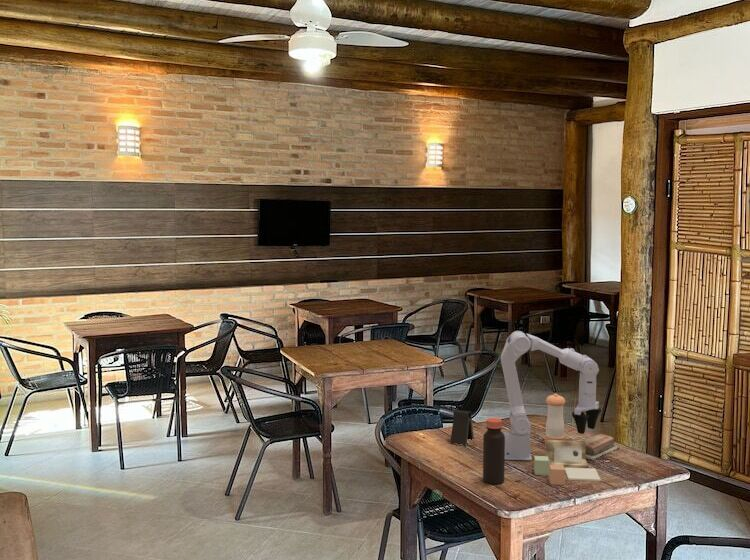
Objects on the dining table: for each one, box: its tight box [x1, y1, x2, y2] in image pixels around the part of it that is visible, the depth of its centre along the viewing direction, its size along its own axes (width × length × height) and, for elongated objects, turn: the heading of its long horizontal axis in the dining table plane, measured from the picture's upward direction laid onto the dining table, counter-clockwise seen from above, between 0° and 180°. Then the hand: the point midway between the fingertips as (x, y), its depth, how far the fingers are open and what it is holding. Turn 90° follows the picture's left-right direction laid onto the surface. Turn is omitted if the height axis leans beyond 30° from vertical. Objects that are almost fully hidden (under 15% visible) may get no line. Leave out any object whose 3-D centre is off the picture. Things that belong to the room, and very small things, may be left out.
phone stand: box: [449, 408, 475, 446], centre depth 278 cm, size 9×6×12 cm, turn 151°
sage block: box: [533, 455, 549, 476], centre depth 245 cm, size 4×4×5 cm
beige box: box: [545, 440, 589, 468], centre depth 253 cm, size 13×8×7 cm, turn 83°
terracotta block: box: [548, 465, 566, 486], centre depth 237 cm, size 4×4×5 cm
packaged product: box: [582, 433, 620, 461], centre depth 266 cm, size 18×5×10 cm
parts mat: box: [564, 467, 602, 482], centre depth 243 cm, size 10×10×1 cm
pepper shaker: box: [544, 393, 566, 446], centre depth 273 cm, size 7×7×19 cm
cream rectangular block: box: [553, 444, 582, 463], centre depth 253 cm, size 9×5×5 cm, turn 83°
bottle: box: [482, 417, 506, 485], centre depth 237 cm, size 7×7×20 cm
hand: (586, 430), depth 259 cm, fingers open, 7 cm apart
